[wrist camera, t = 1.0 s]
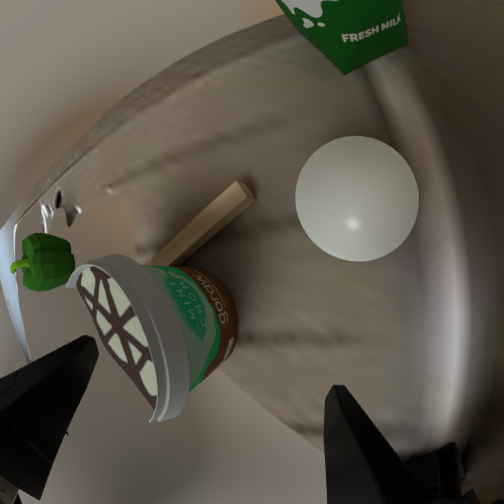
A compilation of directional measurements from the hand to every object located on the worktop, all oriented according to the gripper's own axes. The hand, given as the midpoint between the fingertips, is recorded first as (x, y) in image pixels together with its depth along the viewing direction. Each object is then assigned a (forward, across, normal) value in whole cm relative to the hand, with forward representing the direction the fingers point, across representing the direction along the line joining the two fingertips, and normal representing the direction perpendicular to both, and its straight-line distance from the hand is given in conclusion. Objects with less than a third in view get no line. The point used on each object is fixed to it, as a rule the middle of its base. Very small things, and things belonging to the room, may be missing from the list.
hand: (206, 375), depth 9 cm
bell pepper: (+23, +26, +12) cm, 37 cm away
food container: (+13, +2, +6) cm, 14 cm away
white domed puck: (+12, -8, -4) cm, 14 cm away
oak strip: (+15, +5, +3) cm, 16 cm away
